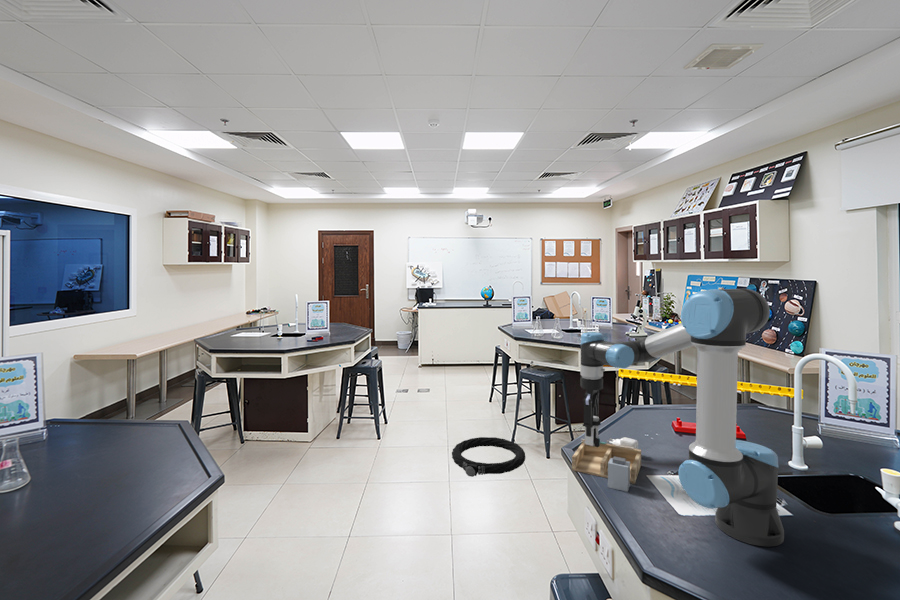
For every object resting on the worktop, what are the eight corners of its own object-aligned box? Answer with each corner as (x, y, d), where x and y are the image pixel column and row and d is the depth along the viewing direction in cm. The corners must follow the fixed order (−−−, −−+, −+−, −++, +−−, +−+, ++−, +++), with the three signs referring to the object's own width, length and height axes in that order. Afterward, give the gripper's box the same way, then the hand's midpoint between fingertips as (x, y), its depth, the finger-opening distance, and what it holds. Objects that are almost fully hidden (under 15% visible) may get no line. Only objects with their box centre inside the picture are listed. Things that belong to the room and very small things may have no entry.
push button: (578, 444, 151) (579, 416, 151) (583, 441, 156) (584, 413, 156) (598, 448, 148) (599, 419, 148) (602, 445, 152) (603, 416, 152)
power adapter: (605, 450, 168) (605, 435, 167) (610, 446, 171) (611, 432, 170) (633, 458, 159) (634, 443, 159) (639, 454, 163) (639, 439, 162)
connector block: (627, 491, 136) (627, 463, 135) (607, 487, 139) (607, 459, 138) (629, 485, 140) (630, 458, 139) (610, 481, 143) (610, 454, 142)
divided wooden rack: (634, 484, 141) (634, 465, 140) (571, 470, 151) (571, 453, 151) (640, 465, 154) (641, 448, 154) (582, 453, 164) (583, 438, 164)
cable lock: (534, 442, 167) (508, 475, 141) (534, 452, 168) (508, 486, 141) (470, 431, 180) (434, 458, 154) (470, 440, 181) (434, 469, 154)
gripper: (597, 384, 141) (596, 453, 143) (608, 372, 156) (607, 435, 158) (574, 381, 145) (573, 448, 146) (586, 370, 160) (586, 431, 162)
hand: (591, 441), depth 152 cm, fingers closed on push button, 5 cm apart
